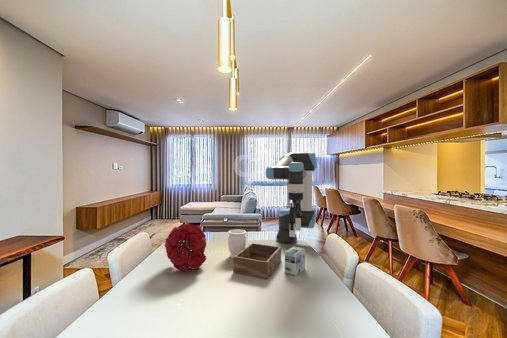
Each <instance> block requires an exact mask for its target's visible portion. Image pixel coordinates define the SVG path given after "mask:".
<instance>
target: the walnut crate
mask: <svg viewBox="0 0 507 338" xmlns="http://www.w3.org/2000/svg"><path fill="white" fill-rule="evenodd" d="M232 259H233V261H232V262H233V265H232V266H233V267H232V268H233V269H232V271H233V272H232V273H233V274H238V275H242V276H243V275H245V276H248V277H253V278H258V279H263V280H268V279H269V278H270V276H271V275H272V274H273V272H274V271H275V270H276V268H277V267H278V266H279V264H280V263H281V262H282V246H275V245H268V244H262V243H254V242H251V243H250V244H248V245H247V246H245V249H243V250H242V251H240V252H239V253H238V254H236V255H235V256H234V257H233V258H232Z"/></svg>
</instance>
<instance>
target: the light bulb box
mask: <svg viewBox="0 0 507 338" xmlns="http://www.w3.org/2000/svg"><path fill="white" fill-rule="evenodd" d="M305 269H306V248H302V247H297V246H295V245H294V246H292V247H291V248H289V249H287V250H285V251H284V273H285V274H289V275H292V276H295V277H297V276H298V275H299V274H301V273H302V272H303V271H305Z"/></svg>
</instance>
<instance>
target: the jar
mask: <svg viewBox="0 0 507 338" xmlns="http://www.w3.org/2000/svg"><path fill="white" fill-rule="evenodd" d="M246 234H247V231H246V230H245V229H230V230H228V238H227V244H228V250H229V251H228V252H229V253H230V254H229V258H230V259H233V257H234V256H235V255H236V254H238V253H239V252H240V251H242V250H243V249H245V248H246V247H247V246H246V244H247V236H246Z"/></svg>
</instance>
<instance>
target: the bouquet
mask: <svg viewBox="0 0 507 338" xmlns="http://www.w3.org/2000/svg"><path fill="white" fill-rule="evenodd" d="M164 247H165V248H164V249H165V251H166V256H167V258H168V260H169V261H170V262H171V264H173V267H174V268H175V269H176V270H179V271H188V270H190V269H191V270H198V269H199V268H200V267H201V266H203V264H204V263H205V262H206V261H207V255H205V250H206V247H207V237H206V234H205V233H204V231H203V229H201V227H200V225H198V224H196V225H192V224H190V223H185V224H182V225H179V226H177V227H176V226H174V227H173V228H172V229H171V231H170V232H169V234H168V236H167V238H165V241H164Z"/></svg>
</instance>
